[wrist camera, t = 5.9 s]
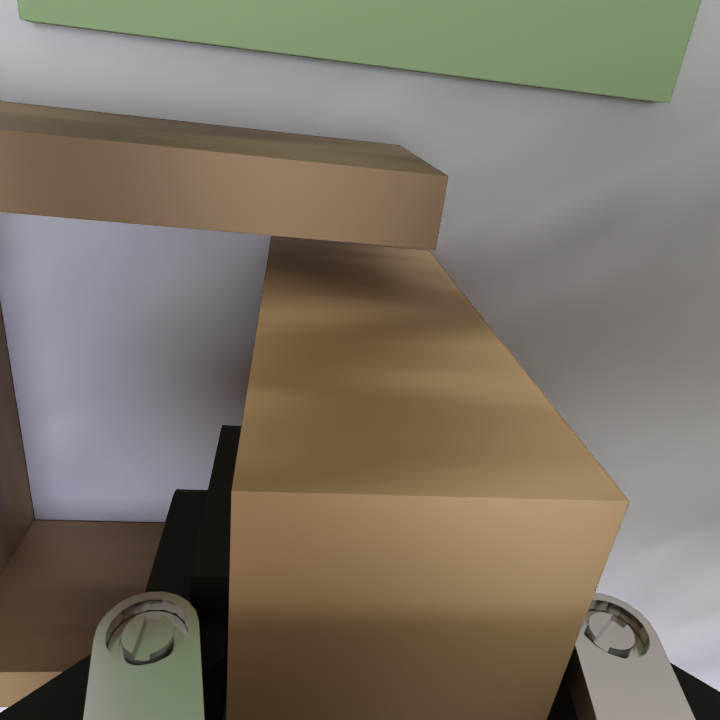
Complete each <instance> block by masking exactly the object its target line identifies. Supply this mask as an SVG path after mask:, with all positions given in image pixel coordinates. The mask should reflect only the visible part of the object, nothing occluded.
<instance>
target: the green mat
mask: <svg viewBox="0 0 720 720" xmlns="http://www.w3.org/2000/svg"><path fill="white" fill-rule="evenodd" d="M17 2H18V10H19V19H21V20H25V21H30V22H36V23H43V24H51V25H59V26H67V27H75V28H82V29H90V30H98V31H106V32H114V33H121V34H129V35H137V36H145V37H153V38H160V39H168V40H176V41H184V42H191V43H199V44H207V45H215V46H223V47H230V48H238V49H246V50H254V51H262V52H269V53H277V54H285V55H293V56H301V57H308V58H316V59H324V60H332V61H340V62H347V63H355V64H363V65H371V66H379V67H386V68H394V69H402V70H410V71H418V72H425V73H433V74H441V75H449V76H457V77H464V78H472V79H480V80H488V81H496V82H503V83H511V84H519V85H527V86H534V87H542V88H550V89H558V90H566V91H573V92H581V93H589V94H597V95H605V96H612V97H620V98H628V99H636V100H644V101H651V102H664V103H670V100H671V97H672V93H673V90H674V87H675V84H676V80H677V77H678V74H679V71H680V67H681V64H682V61H683V58H684V54H685V51H686V48H687V45H688V41H689V38H690V35H691V32H692V28H693V25H694V22H695V19H696V15H697V12H698V9H699V6H700V2H701V0H17Z"/></svg>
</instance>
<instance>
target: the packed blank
mask: <svg viewBox="0 0 720 720" xmlns="http://www.w3.org/2000/svg"><path fill="white" fill-rule="evenodd" d="M628 504H629V500H628V499H627V498H626V497H625V495H624V494H623V493H622V492H621V490H620V489H619V488H618V487H617V485H616V484H615V483H614V482H613V480H612V479H611V478H610V477H609V475H608V474H607V473H606V472H605V470H604V469H603V468H602V467H601V465H600V464H599V463H598V462H597V460H596V459H595V458H594V457H593V455H592V454H591V453H590V452H589V450H588V449H587V448H586V447H585V445H584V444H583V443H582V442H581V440H580V439H579V438H578V437H577V435H576V434H575V433H574V432H573V430H572V429H571V428H570V427H569V425H568V424H567V423H566V422H565V420H564V419H563V418H562V417H561V415H560V414H559V413H558V412H557V410H556V409H555V408H554V407H553V405H552V404H551V403H550V402H549V400H548V399H547V398H546V397H545V395H544V394H543V393H542V392H541V390H540V389H539V388H538V387H537V385H536V384H535V383H534V382H533V380H532V379H531V378H530V377H529V375H528V374H527V373H526V372H525V370H524V369H523V368H522V367H521V365H520V364H519V363H518V362H517V360H516V359H515V358H514V357H513V355H512V354H511V353H510V352H509V350H508V349H507V348H506V347H505V345H504V344H503V343H502V342H501V340H500V339H499V338H498V337H497V335H496V334H495V333H494V332H493V330H492V329H491V328H490V327H489V325H488V324H487V323H486V322H485V320H484V319H483V318H482V317H481V315H480V314H479V313H478V312H477V310H476V309H475V308H474V307H473V305H472V304H471V303H470V302H469V300H468V299H467V298H466V297H465V295H464V294H463V293H462V292H461V290H460V289H459V288H458V287H457V285H456V284H455V283H454V282H453V280H452V279H451V278H450V277H449V275H448V274H447V273H446V272H445V270H444V269H443V268H442V267H441V265H440V264H439V263H438V261H437V260H436V259H435V258H434V256H433V255H432V254H431V253H430V251H429V250H421V249H410V248H398V247H387V246H375V245H363V244H352V243H340V242H329V241H317V240H306V239H294V238H282V237H271V241H270V247H269V254H268V260H267V267H266V273H265V279H264V286H263V292H262V299H261V305H260V312H259V318H258V324H257V331H256V337H255V344H254V350H253V356H252V363H251V369H250V376H249V382H248V388H247V395H246V401H245V408H244V414H243V420H242V427H241V433H240V440H239V446H238V452H237V459H236V465H235V472H234V478H233V485H232V491H231V534H230V576H229V619H228V662H227V705H226V720H547V717H548V714H549V712H550V709H551V707H552V704H553V701H554V699H555V696H556V693H557V691H558V688H559V686H560V683H561V680H562V678H563V675H564V672H565V670H566V667H567V664H568V662H569V659H570V657H571V654H572V651H573V649H574V646H575V643H576V641H577V638H578V635H579V633H580V630H581V628H582V625H583V622H584V620H585V617H586V614H587V612H588V609H589V606H590V604H591V601H592V599H593V596H594V593H595V591H596V588H597V585H598V583H599V580H600V577H601V575H602V572H603V570H604V567H605V564H606V562H607V559H608V556H609V554H610V551H611V549H612V546H613V543H614V541H615V538H616V535H617V533H618V530H619V527H620V525H621V522H622V520H623V517H624V514H625V512H626V509H627V506H628Z"/></svg>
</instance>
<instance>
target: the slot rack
mask: <svg viewBox="0 0 720 720" xmlns="http://www.w3.org/2000/svg"><path fill="white" fill-rule="evenodd" d="M447 180H448V176H447V175H445V174H444V173H442V172H441V171H439V170H437V169H436V168H434V167H433V166H431V165H430V164H428V163H427V162H425V161H423V160H422V159H420V158H419V157H417V156H416V155H414V154H412V153H411V152H409V151H408V150H406V149H405V148H403V147H401V146H400V145H391V144H382V143H373V142H364V141H355V140H346V139H337V138H328V137H319V136H310V135H301V134H292V133H283V132H274V131H265V130H256V129H247V128H238V127H229V126H220V125H211V124H202V123H193V122H184V121H175V120H165V119H156V118H147V117H138V116H129V115H120V114H111V113H102V112H93V111H84V110H75V109H66V108H57V107H48V106H39V105H30V104H21V103H12V102H3V101H0V212H7V213H19V214H30V215H41V216H53V217H64V218H76V219H87V220H99V221H110V222H122V223H133V224H144V225H156V226H167V227H179V228H190V229H202V230H213V231H225V232H236V233H248V234H259V235H270V236H282V237H293V238H305V239H316V240H328V241H339V242H351V243H362V244H373V245H385V246H396V247H408V248H419V249H431V250H436V245H437V239H438V233H439V227H440V222H441V216H442V210H443V204H444V198H445V192H446V186H447ZM164 526H165V523H132V522H88V521H43V520H34V514H33V508H32V502H31V495H30V489H29V483H28V476H27V470H26V464H25V458H24V451H23V445H22V439H21V432H20V426H19V420H18V413H17V407H16V401H15V395H14V388H13V382H12V376H11V369H10V363H9V357H8V350H7V344H6V338H5V332H4V325H3V319H2V313H1V306H0V707H10V706H12V705H13V704H15V703H16V702H18V701H19V700H21V699H22V698H24V697H25V696H27V695H28V694H30V693H31V692H33V691H34V690H36V689H38V688H39V687H41V686H42V685H44V684H45V683H47V682H48V681H50V680H51V679H53V678H54V677H56V676H57V675H59V674H61V673H62V672H64V671H65V670H67V669H68V668H70V667H71V666H73V665H74V664H76V663H77V662H79V661H80V660H82V659H83V658H85V657H87V656H88V655H90V654H91V653H92V647H93V639H94V636H95V633H96V630H97V626H98V624H99V623H100V622H101V620H102V619H103V618H104V616H105V615H106V613H107V612H109V611H110V610H111V609H112V608H114V607H115V606H116V605H117V604H118V603H120V602H122V601H124V600H126V599H128V598H130V597H132V596H135V595H139V594H143V593H145V590H146V587H147V583H148V580H149V577H150V573H151V570H152V566H153V563H154V560H155V556H156V553H157V549H158V546H159V543H160V539H161V536H162V532H163V529H164Z"/></svg>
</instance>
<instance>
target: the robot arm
mask: <svg viewBox="0 0 720 720" xmlns="http://www.w3.org/2000/svg"><path fill="white" fill-rule="evenodd" d="M241 427H242V426H229V425H222V428H221V432H220V437H219V441H218V446H217V451H216V456H215V460H214V465H213V470H212V474H211V479H210V484H209V488H208V490H182V489H177V490H176V491H175V493H174V495H173V498H172V502H171V505H170V509H169V512H168V515H167V519H166V522H165V526H164V529H163V532H162V536H161V539H160V543H159V546H158V549H157V553H156V556H155V560H154V563H153V566H152V570H151V573H150V577H149V580H148V583H147V587H146V590H145V593H143V594H139V595H135V596H132V597H130V598H128V599H126V600H124V601H122V602H120V603H118V604H117V605H116V606H115V607H114V608H112V609H111V610H110V611H109V612H107V613H106V615H105V616H104V618H103V619H102V620H101V622H100V623H99V624H98V626H97V630H96V633H95V636H94V639H93V647H92V653H91V654H90V655H88V656H87V657H85V658H83V659H82V660H80V661H79V662H77V663H76V664H74V665H73V666H71V667H70V668H68V669H67V670H65V671H64V672H62V673H61V674H59V675H57V676H56V677H54V678H53V679H51V680H50V681H48V682H47V683H45V684H44V685H42V686H41V687H39V688H38V689H36V690H34V691H33V692H31V693H30V694H28V695H27V696H25V697H24V698H22V699H21V700H19V701H18V702H16V703H15V704H13V705H12V706H10V707H8V708H7V709H5V710H4V711H2V712H1V713H0V720H226V705H227V662H228V619H229V576H230V534H231V491H232V485H233V478H234V472H235V465H236V459H237V452H238V446H239V440H240V433H241ZM547 720H720V692H719V691H717V690H716V689H714V688H712V687H710V686H709V685H707V684H705V683H704V682H702V681H700V680H699V679H697V678H695V677H694V676H692V675H690V674H688V673H687V672H685V671H683V670H682V669H680V668H678V667H677V666H675V665H673V664H672V663H670V662H669V659H668V657H667V655H666V653H665V651H664V648H663V646H662V644H661V642H660V639H659V637H658V635H657V633H656V632H655V630H654V628H653V627H652V625H651V624H650V622H649V621H648V620H647V619H646V618H645V617H644V616H643V615H642V614H641V613H640V612H639V611H637V610H636V609H634V608H633V607H631V606H630V605H629V604H627V603H625V602H623V601H621V600H619V599H617V598H615V597H612V596H608V595H604V594H600V593H594V596H593V599H592V601H591V604H590V606H589V609H588V612H587V614H586V617H585V620H584V622H583V625H582V628H581V630H580V633H579V635H578V638H577V641H576V643H575V646H574V649H573V651H572V654H571V657H570V659H569V662H568V664H567V667H566V670H565V672H564V675H563V678H562V680H561V683H560V686H559V688H558V691H557V693H556V696H555V699H554V701H553V704H552V707H551V709H550V712H549V714H548V717H547Z"/></svg>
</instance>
